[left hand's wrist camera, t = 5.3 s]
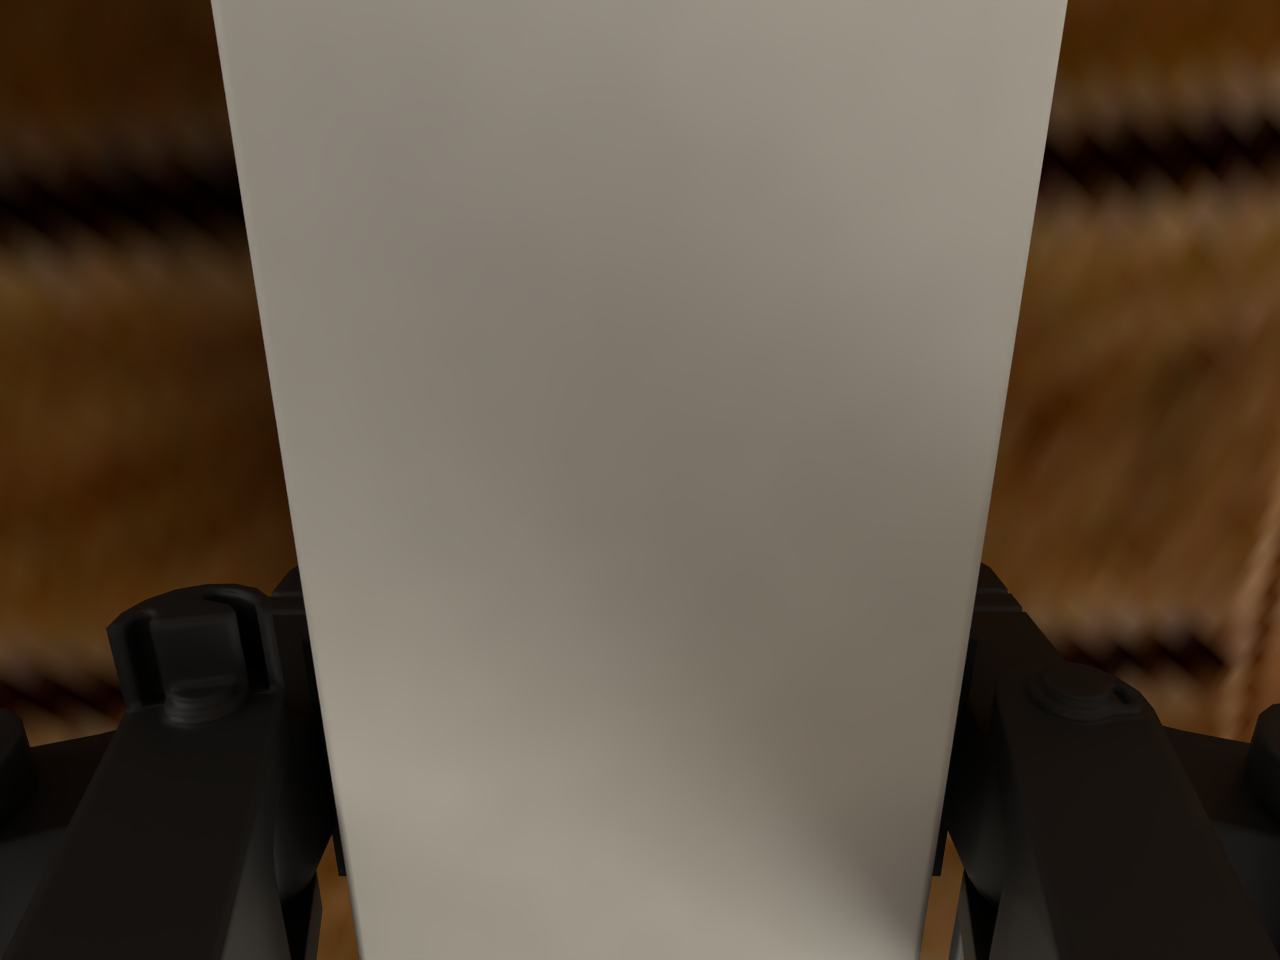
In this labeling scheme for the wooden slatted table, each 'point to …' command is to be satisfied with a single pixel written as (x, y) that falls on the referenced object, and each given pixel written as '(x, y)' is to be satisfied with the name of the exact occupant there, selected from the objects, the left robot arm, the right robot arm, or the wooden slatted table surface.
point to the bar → (639, 446)
